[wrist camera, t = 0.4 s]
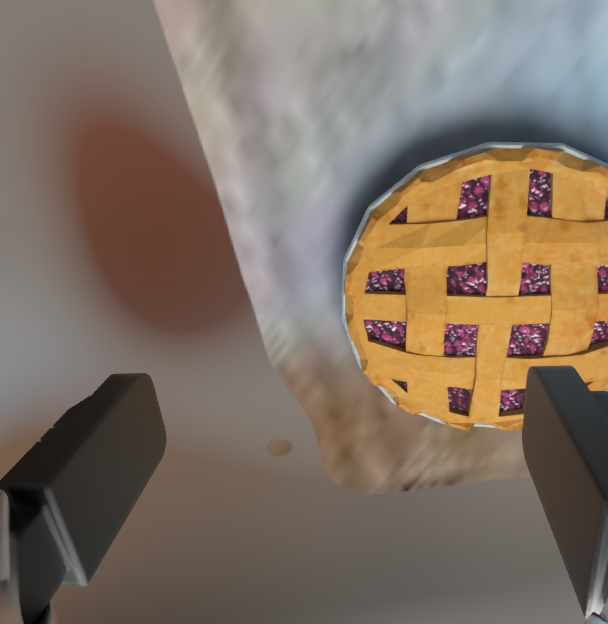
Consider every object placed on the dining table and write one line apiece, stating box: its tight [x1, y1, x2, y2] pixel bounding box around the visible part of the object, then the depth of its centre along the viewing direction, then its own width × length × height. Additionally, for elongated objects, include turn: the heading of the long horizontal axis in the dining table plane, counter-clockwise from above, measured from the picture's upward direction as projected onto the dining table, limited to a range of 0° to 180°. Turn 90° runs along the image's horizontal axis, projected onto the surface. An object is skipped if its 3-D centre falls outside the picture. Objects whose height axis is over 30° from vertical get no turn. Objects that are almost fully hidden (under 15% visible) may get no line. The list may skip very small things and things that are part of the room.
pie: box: [341, 142, 608, 431], centre depth 36 cm, size 22×22×5 cm
